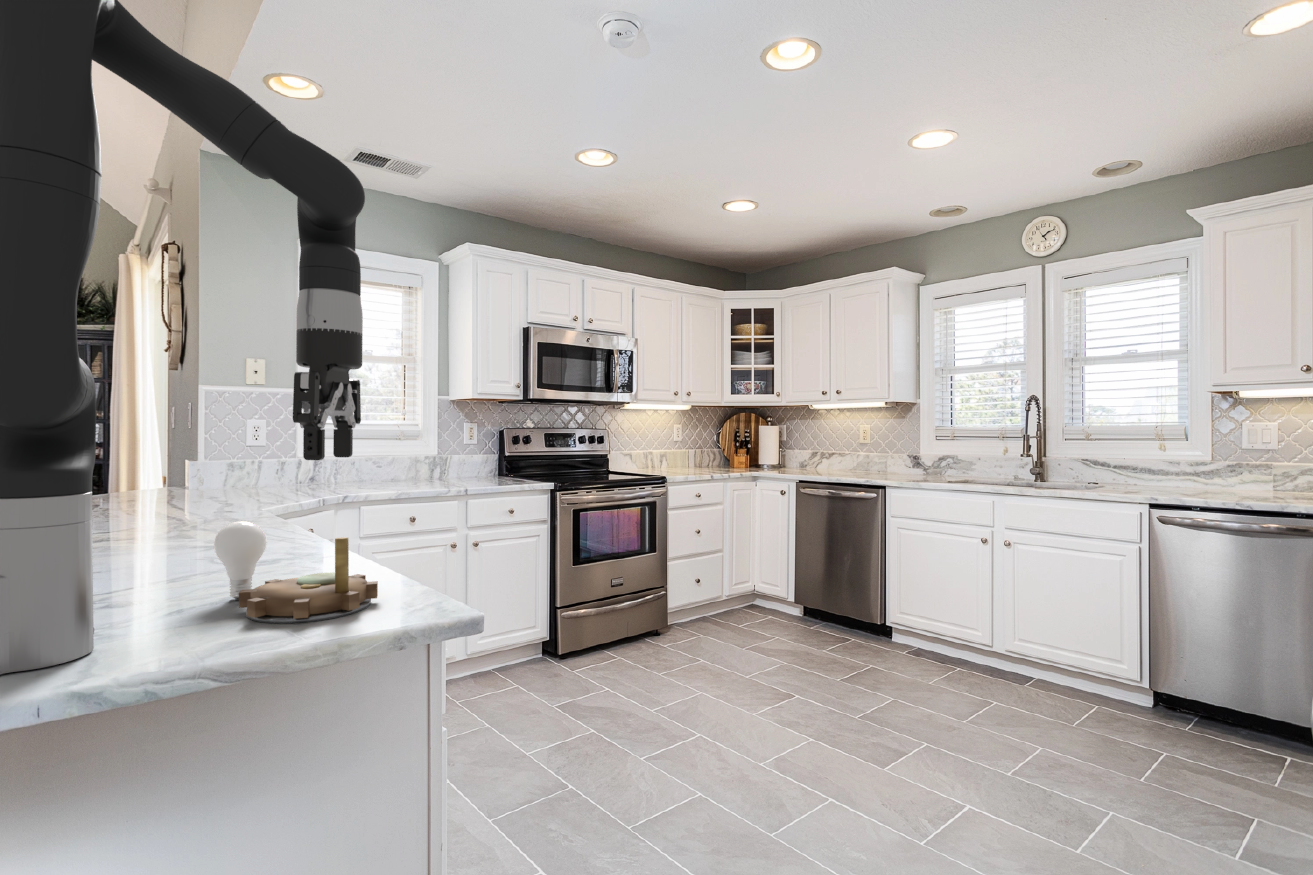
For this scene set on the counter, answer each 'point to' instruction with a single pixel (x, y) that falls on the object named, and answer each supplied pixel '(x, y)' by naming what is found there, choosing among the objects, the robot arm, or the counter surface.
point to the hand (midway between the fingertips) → (329, 458)
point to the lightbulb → (240, 553)
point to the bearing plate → (311, 617)
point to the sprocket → (311, 591)
